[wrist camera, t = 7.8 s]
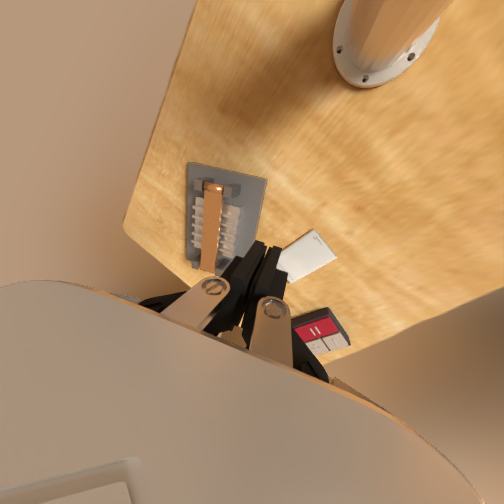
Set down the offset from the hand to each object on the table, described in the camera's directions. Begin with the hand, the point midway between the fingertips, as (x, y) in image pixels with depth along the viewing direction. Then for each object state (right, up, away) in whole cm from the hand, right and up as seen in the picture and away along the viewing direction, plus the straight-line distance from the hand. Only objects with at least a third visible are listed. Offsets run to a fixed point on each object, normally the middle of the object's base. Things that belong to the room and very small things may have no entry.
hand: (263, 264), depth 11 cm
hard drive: (+11, 0, +32) cm, 34 cm away
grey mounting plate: (-8, +8, +33) cm, 35 cm away
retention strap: (-9, +5, +29) cm, 31 cm away
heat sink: (-8, +7, +32) cm, 33 cm away
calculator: (+16, -20, +40) cm, 48 cm away
